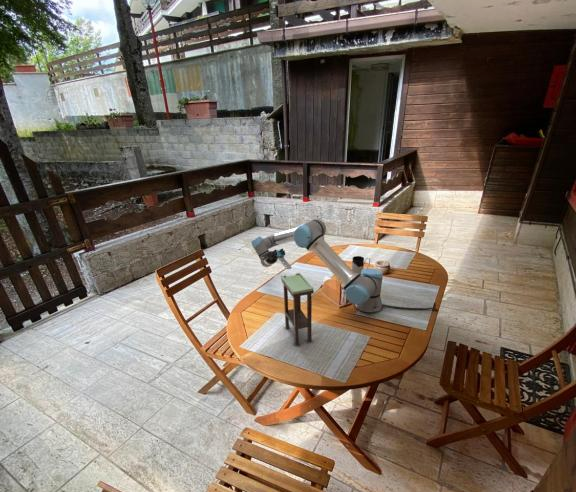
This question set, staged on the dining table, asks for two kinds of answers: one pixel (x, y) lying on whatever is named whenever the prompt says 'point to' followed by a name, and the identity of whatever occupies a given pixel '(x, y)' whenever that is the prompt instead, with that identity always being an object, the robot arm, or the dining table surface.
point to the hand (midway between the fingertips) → (279, 251)
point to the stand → (298, 313)
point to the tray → (297, 283)
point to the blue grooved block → (283, 260)
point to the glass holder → (358, 264)
